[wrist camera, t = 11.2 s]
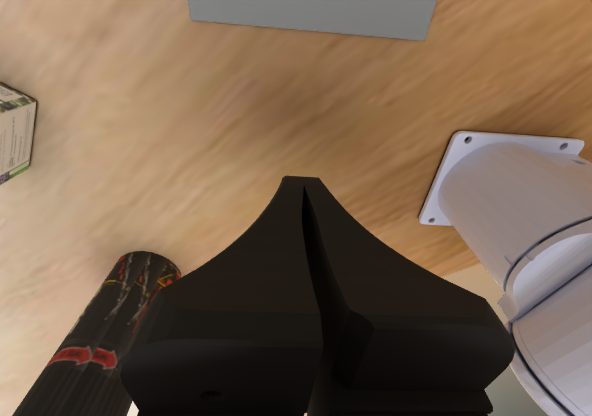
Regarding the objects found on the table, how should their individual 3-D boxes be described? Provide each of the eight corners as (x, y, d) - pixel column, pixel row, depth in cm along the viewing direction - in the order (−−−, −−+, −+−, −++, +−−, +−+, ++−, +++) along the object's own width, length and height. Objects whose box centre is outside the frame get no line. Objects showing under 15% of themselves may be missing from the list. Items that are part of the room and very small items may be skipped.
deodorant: (116, 244, 25) (-53, 473, 12) (184, 260, 26) (92, 480, 14) (116, 285, 28) (-18, 500, 16) (177, 297, 29) (97, 504, 17)
